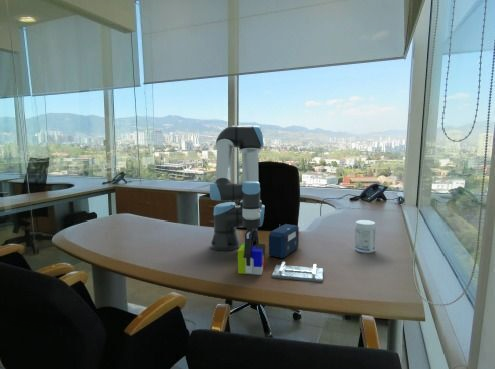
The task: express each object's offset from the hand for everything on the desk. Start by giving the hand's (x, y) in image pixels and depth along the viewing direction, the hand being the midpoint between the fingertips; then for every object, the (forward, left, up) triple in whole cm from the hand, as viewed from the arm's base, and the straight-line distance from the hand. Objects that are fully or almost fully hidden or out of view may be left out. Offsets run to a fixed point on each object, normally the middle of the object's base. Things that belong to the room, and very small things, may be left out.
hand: (251, 267), depth 138 cm
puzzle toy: (0, 0, -1) cm, 1 cm away
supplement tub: (+50, +36, -1) cm, 62 cm away
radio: (+11, +25, -1) cm, 27 cm away
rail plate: (+20, -1, -1) cm, 20 cm away
